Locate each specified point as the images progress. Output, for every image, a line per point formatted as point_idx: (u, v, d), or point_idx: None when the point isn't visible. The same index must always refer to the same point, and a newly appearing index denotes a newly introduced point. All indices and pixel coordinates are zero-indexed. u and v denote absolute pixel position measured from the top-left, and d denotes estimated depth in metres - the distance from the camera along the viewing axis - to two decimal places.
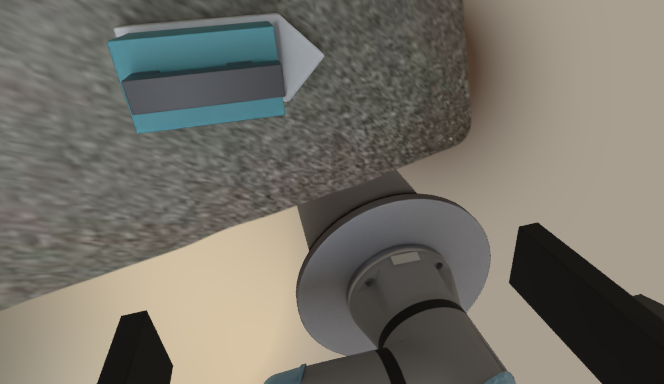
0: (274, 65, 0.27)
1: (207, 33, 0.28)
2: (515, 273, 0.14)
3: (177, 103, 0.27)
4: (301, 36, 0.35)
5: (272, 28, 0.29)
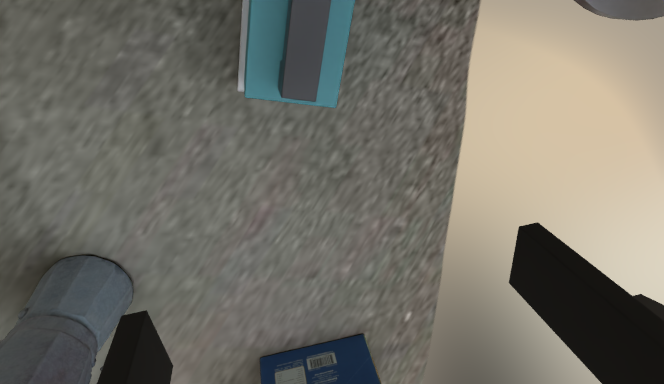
0: None
1: None
2: (515, 274, 0.14)
3: (316, 51, 0.24)
4: None
5: None
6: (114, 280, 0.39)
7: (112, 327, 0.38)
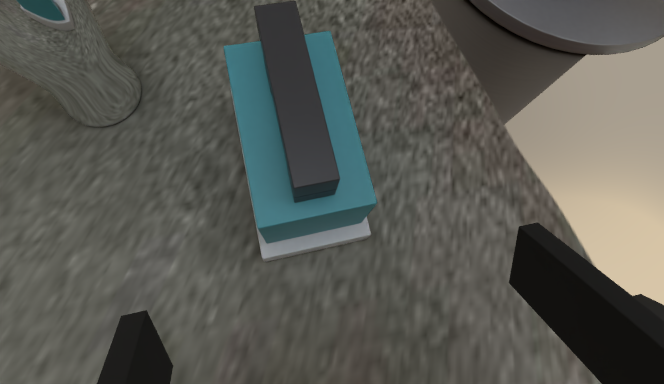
0: (256, 13, 0.21)
1: (237, 115, 0.23)
2: (515, 274, 0.14)
3: (317, 122, 0.20)
4: None
5: (225, 47, 0.24)
6: None
7: None
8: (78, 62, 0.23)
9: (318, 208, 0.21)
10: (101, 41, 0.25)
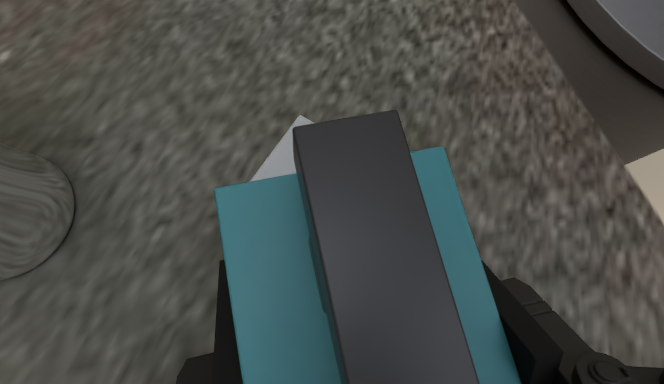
0: (299, 148, 0.08)
1: (244, 374, 0.09)
2: None
3: None
4: (268, 161, 0.17)
5: (219, 190, 0.11)
6: None
7: None
8: None
9: None
10: None
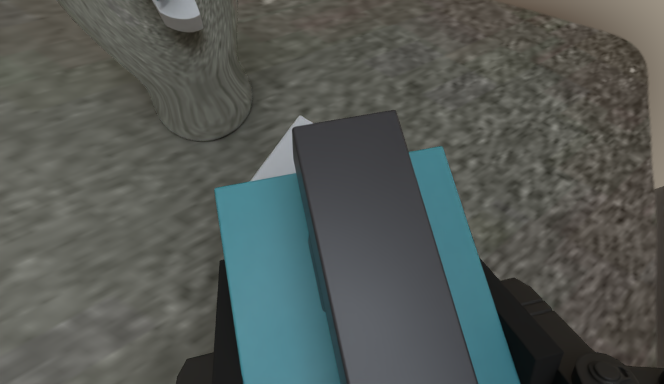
0: (298, 148, 0.08)
1: (244, 373, 0.09)
2: None
3: None
4: (268, 161, 0.17)
5: (219, 190, 0.11)
6: None
7: None
8: (172, 73, 0.16)
9: None
10: (222, 61, 0.18)
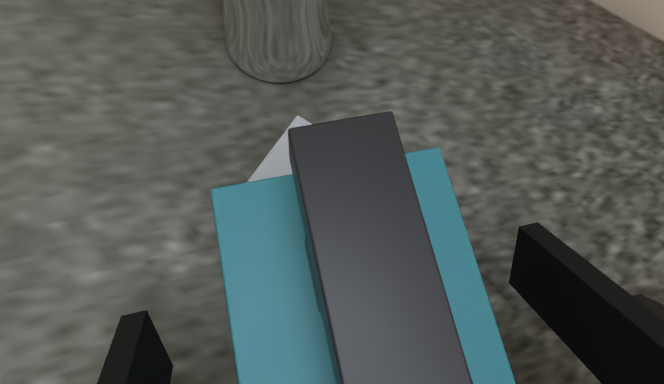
0: (294, 149, 0.08)
1: (240, 374, 0.09)
2: (515, 274, 0.14)
3: None
4: (265, 161, 0.17)
5: (215, 191, 0.11)
6: None
7: None
8: None
9: None
10: None
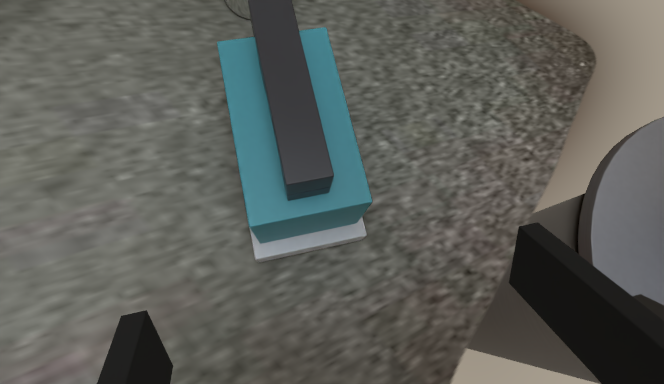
0: (250, 7, 0.21)
1: (230, 111, 0.22)
2: (515, 274, 0.14)
3: (310, 118, 0.19)
4: None
5: (219, 42, 0.23)
6: None
7: None
8: None
9: (312, 206, 0.21)
10: None
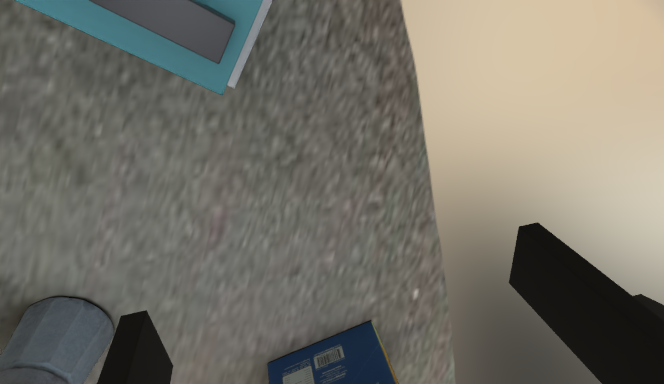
0: None
1: (108, 42, 0.22)
2: (515, 274, 0.14)
3: (172, 0, 0.20)
4: None
5: None
6: (84, 317, 0.38)
7: (91, 365, 0.37)
8: None
9: (237, 42, 0.24)
10: None
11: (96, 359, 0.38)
